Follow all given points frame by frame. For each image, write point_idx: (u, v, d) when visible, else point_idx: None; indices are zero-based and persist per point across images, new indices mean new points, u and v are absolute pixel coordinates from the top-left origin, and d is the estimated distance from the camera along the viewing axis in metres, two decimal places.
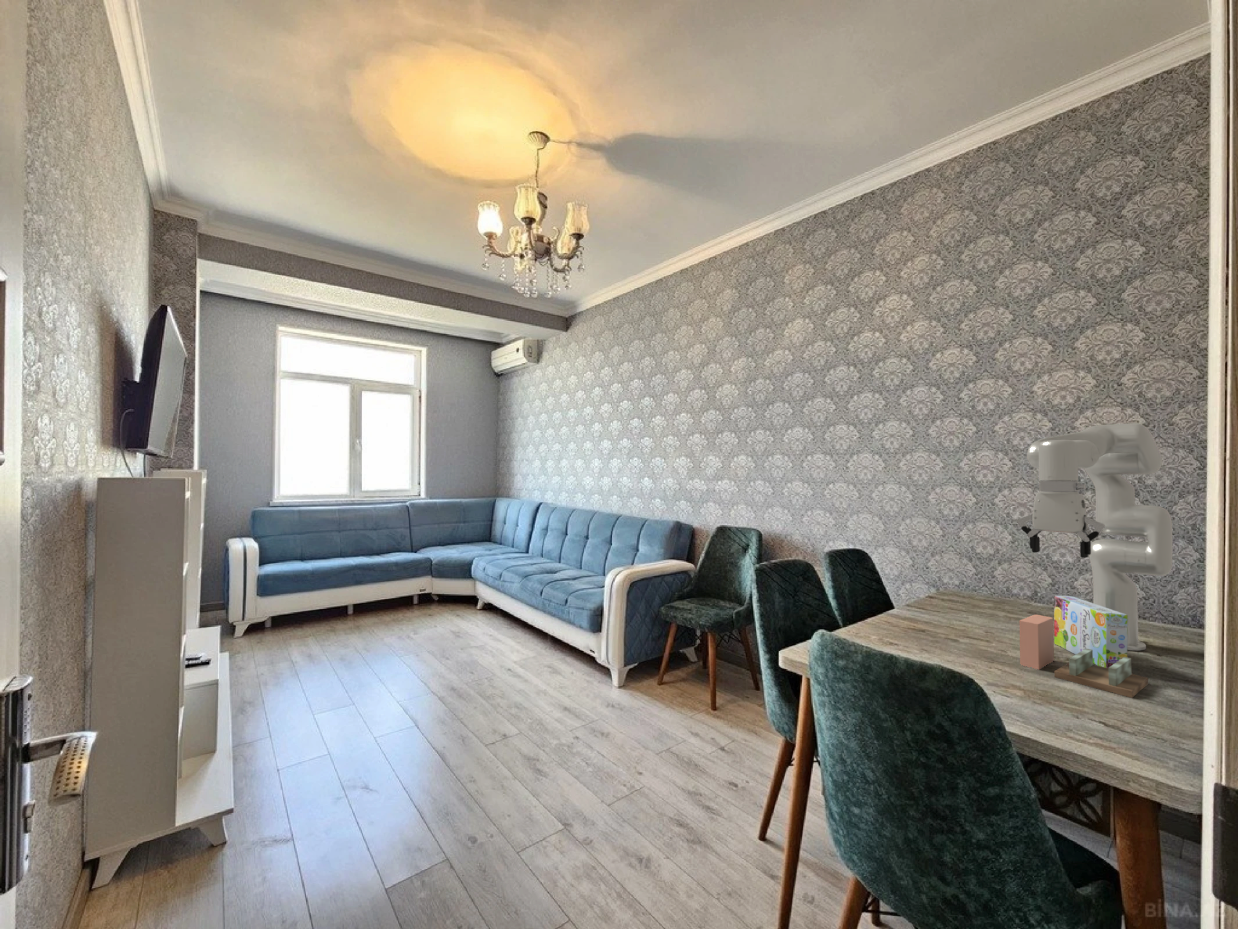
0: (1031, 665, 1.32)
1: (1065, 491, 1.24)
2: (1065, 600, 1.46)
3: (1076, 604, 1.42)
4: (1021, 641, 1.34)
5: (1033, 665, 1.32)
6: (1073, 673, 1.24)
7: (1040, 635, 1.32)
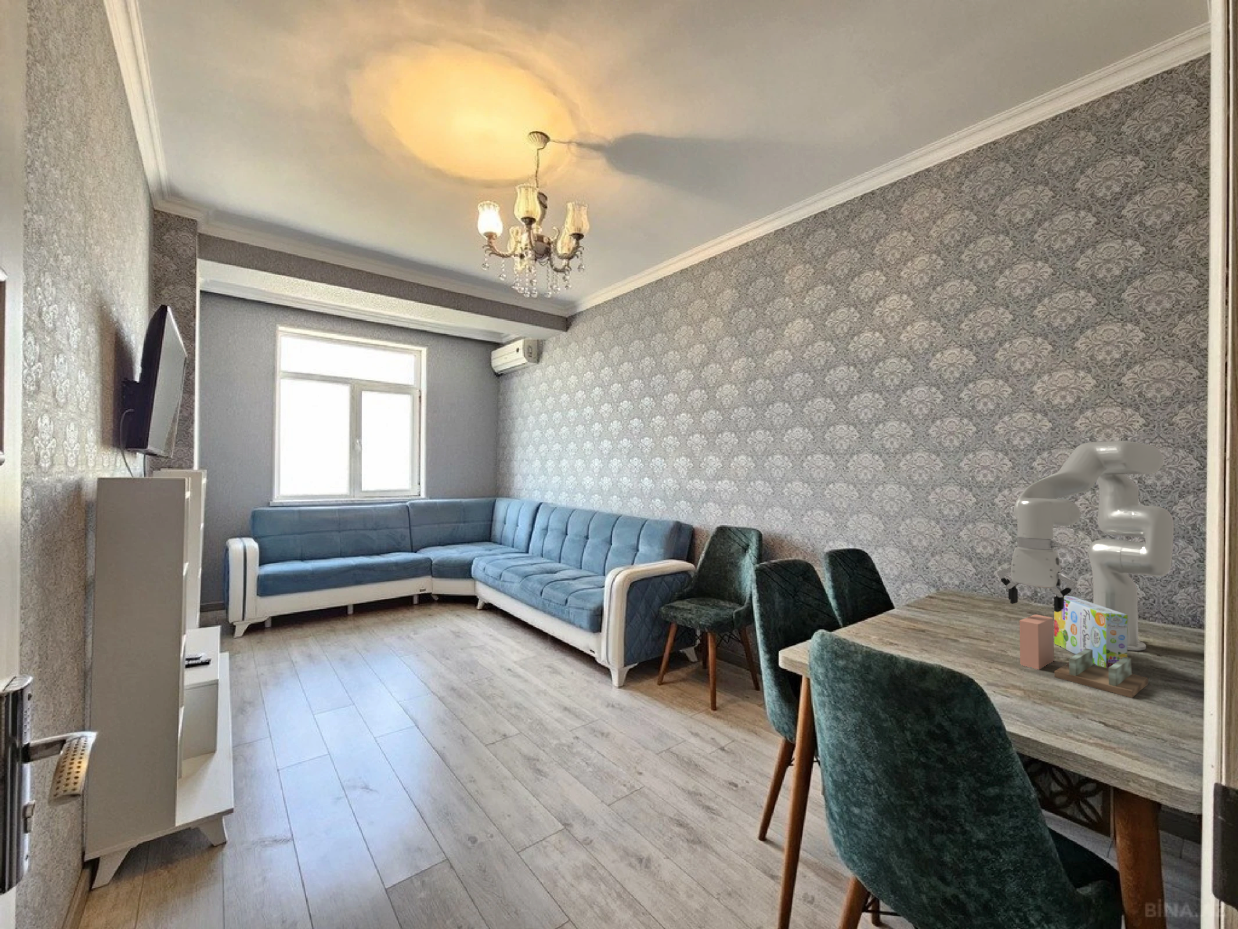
0: (1031, 665, 1.32)
1: (1041, 549, 1.33)
2: (1065, 600, 1.46)
3: (1076, 604, 1.42)
4: (1021, 641, 1.34)
5: (1033, 665, 1.32)
6: (1073, 673, 1.24)
7: (1040, 635, 1.32)
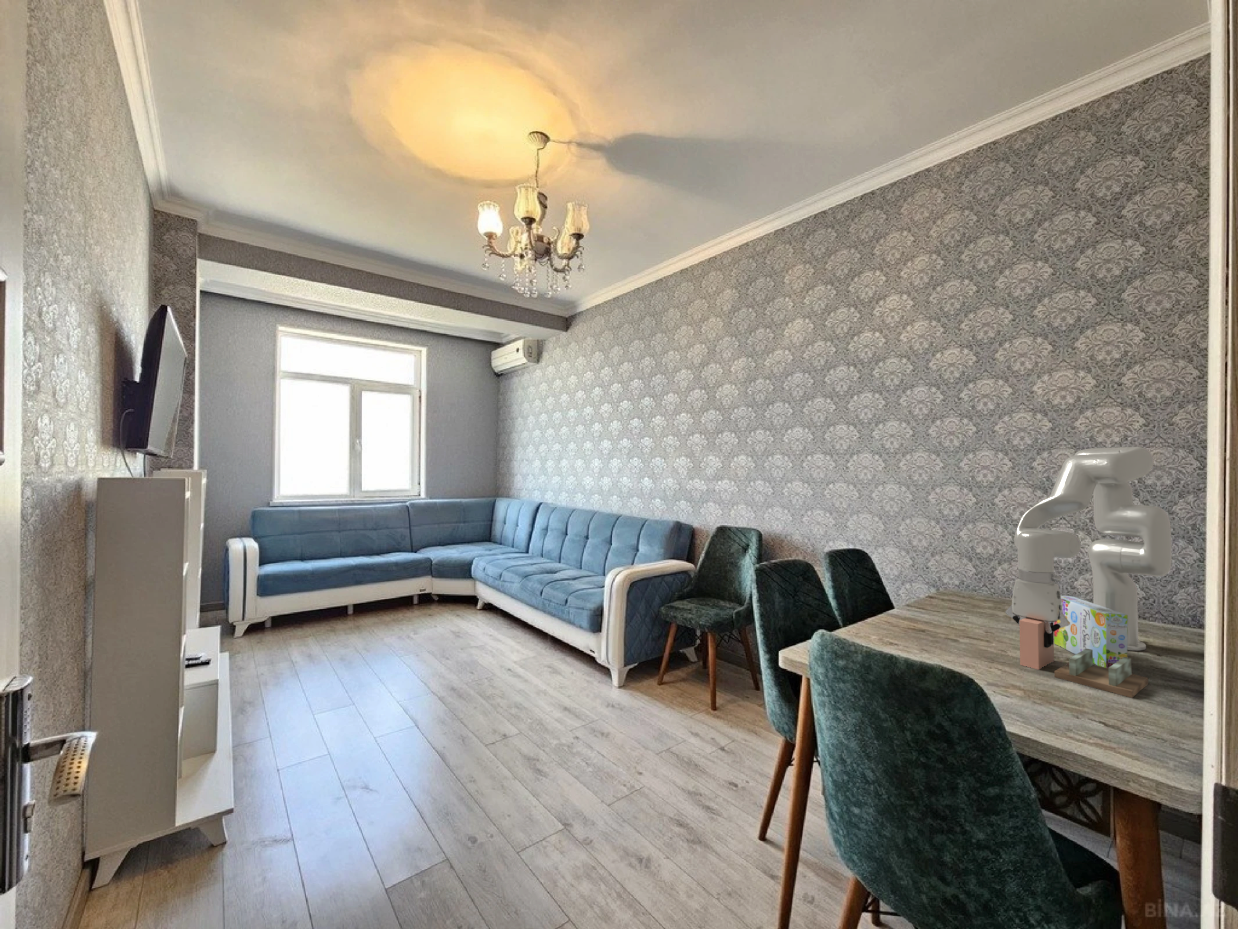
0: (1031, 665, 1.32)
1: (1041, 582, 1.33)
2: (1065, 600, 1.46)
3: (1076, 604, 1.42)
4: (1021, 641, 1.34)
5: (1033, 665, 1.32)
6: (1073, 673, 1.24)
7: (1040, 635, 1.32)
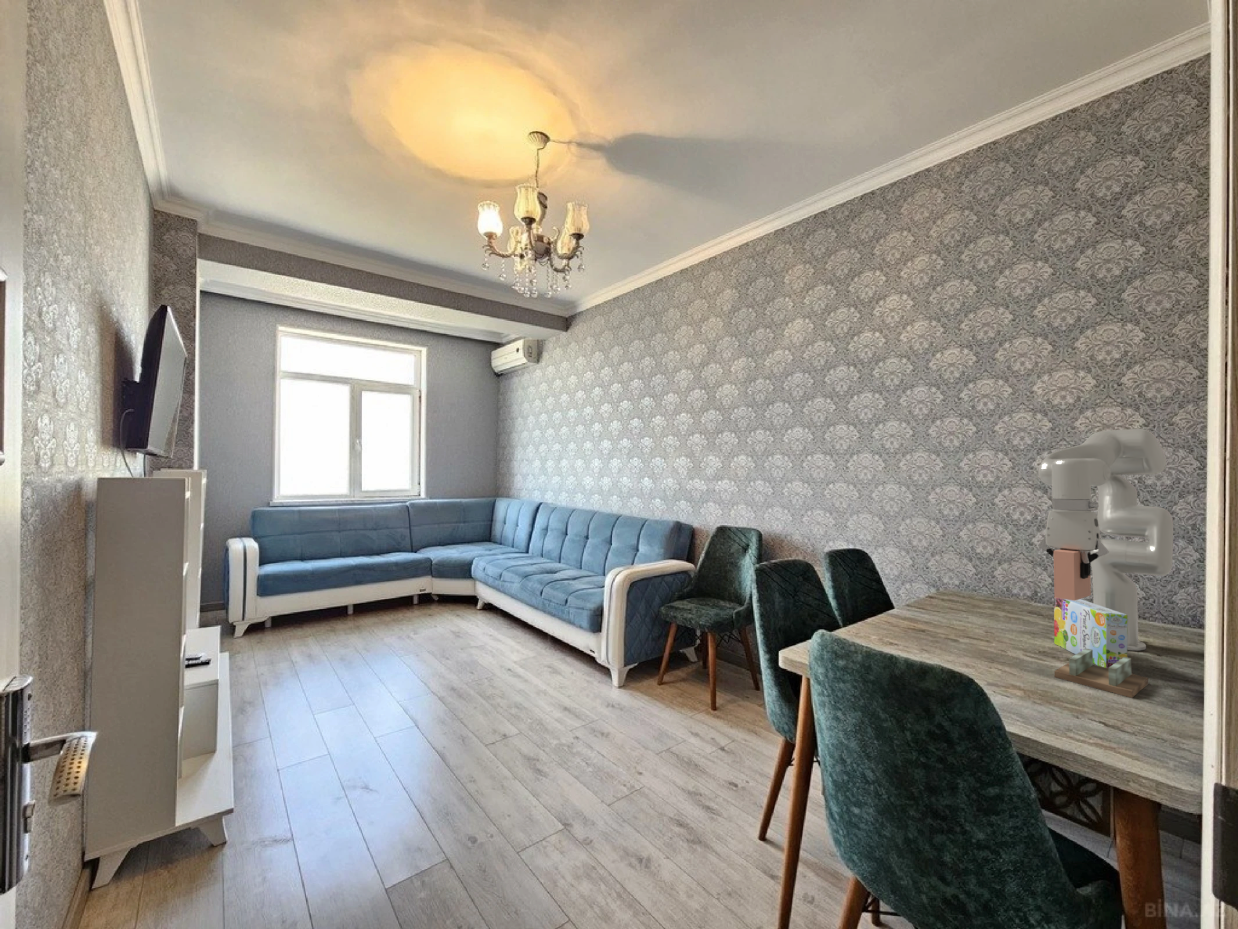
0: (1066, 596, 1.26)
1: (1078, 510, 1.26)
2: (1065, 600, 1.46)
3: (1076, 604, 1.42)
4: (1055, 572, 1.28)
5: (1068, 596, 1.25)
6: (1073, 673, 1.24)
7: (1076, 565, 1.26)
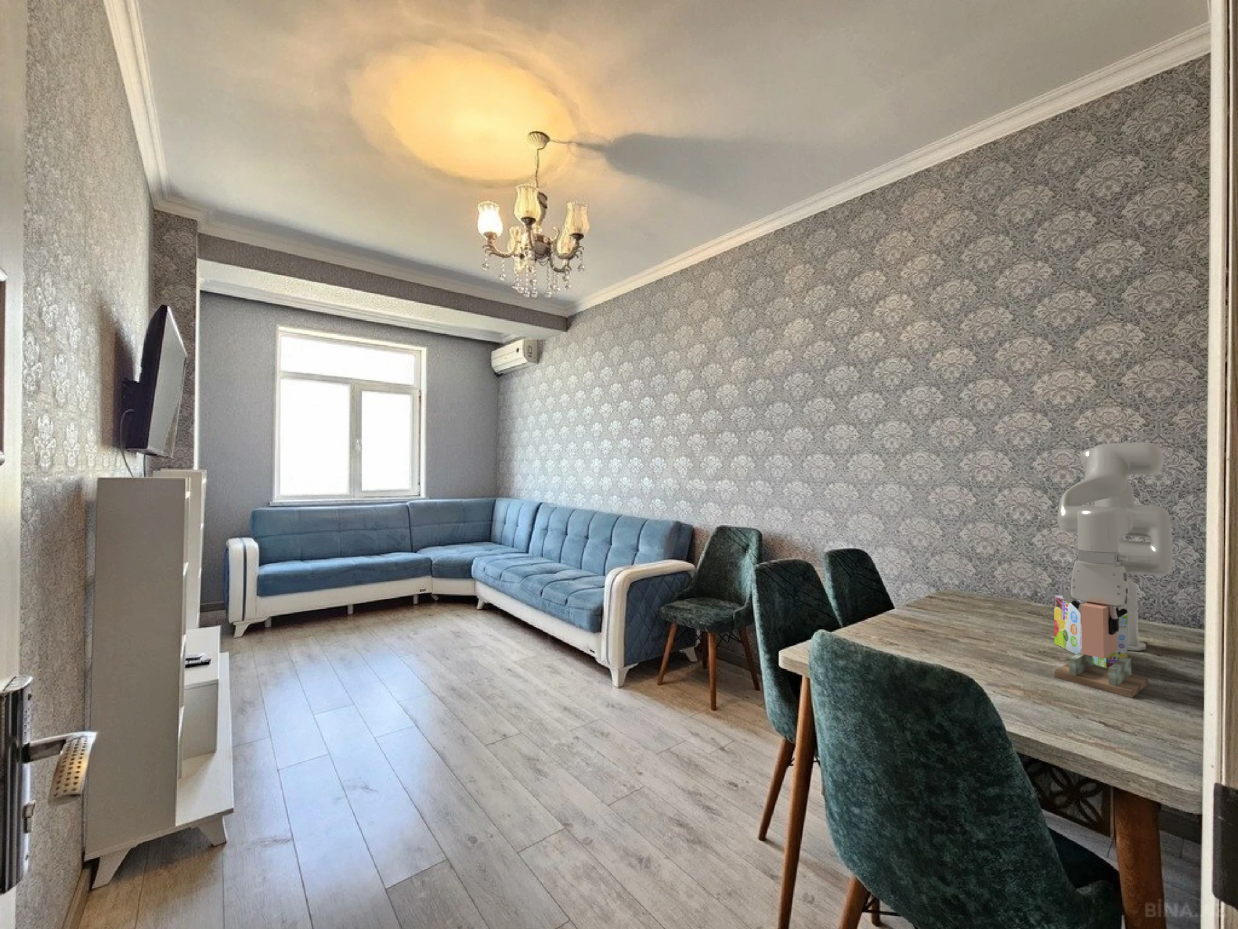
0: (1095, 654, 1.21)
1: (1106, 563, 1.21)
2: (1065, 600, 1.46)
3: None
4: (1083, 627, 1.23)
5: (1097, 653, 1.21)
6: (1073, 673, 1.24)
7: (1105, 621, 1.21)
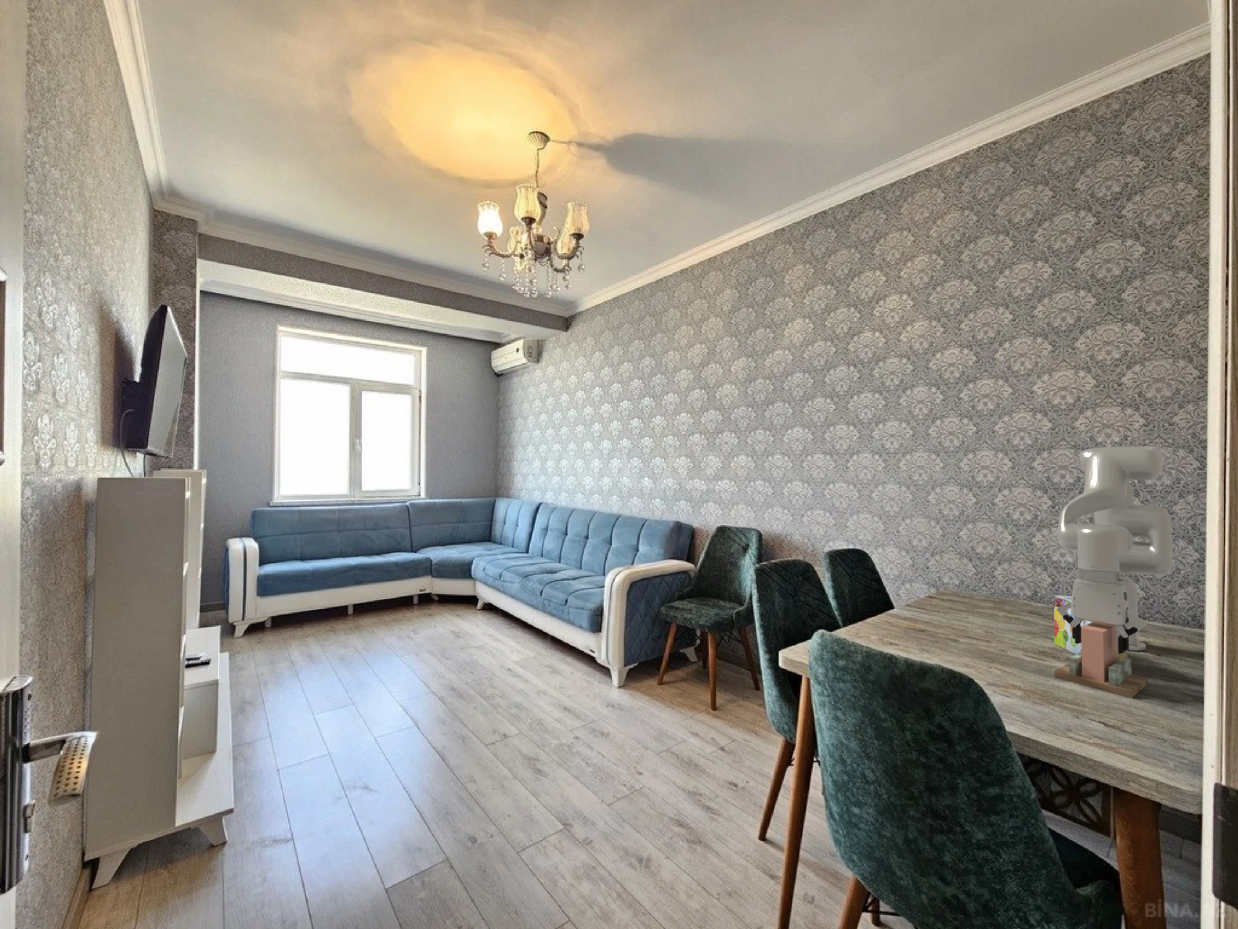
0: (1095, 677, 1.21)
1: (1107, 582, 1.21)
2: (1065, 600, 1.46)
3: None
4: (1083, 650, 1.23)
5: (1097, 677, 1.21)
6: (1073, 673, 1.24)
7: (1105, 644, 1.21)
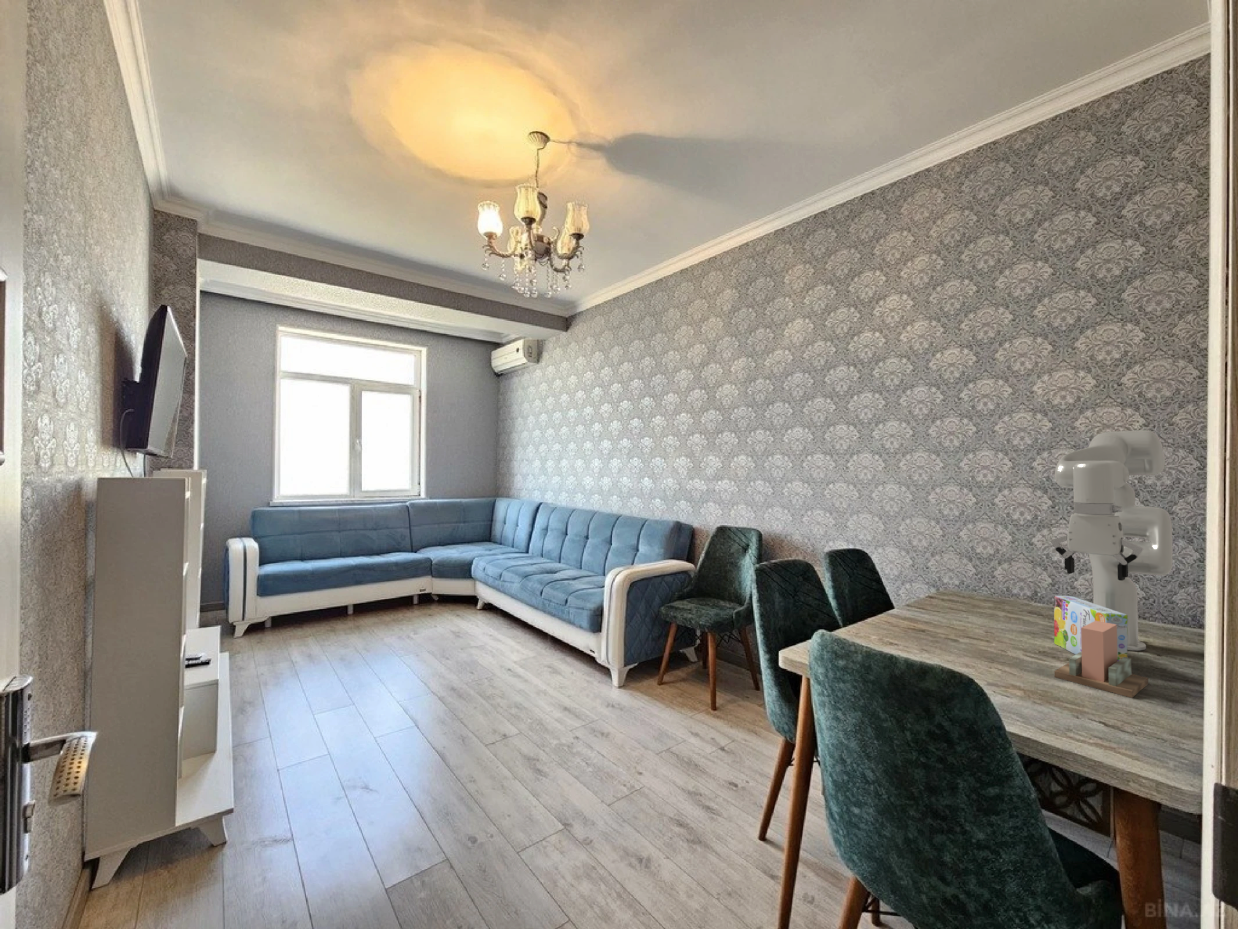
0: (1095, 677, 1.21)
1: (1102, 514, 1.24)
2: (1065, 600, 1.46)
3: (1076, 604, 1.42)
4: (1083, 650, 1.23)
5: (1097, 677, 1.21)
6: (1073, 673, 1.24)
7: (1105, 644, 1.21)
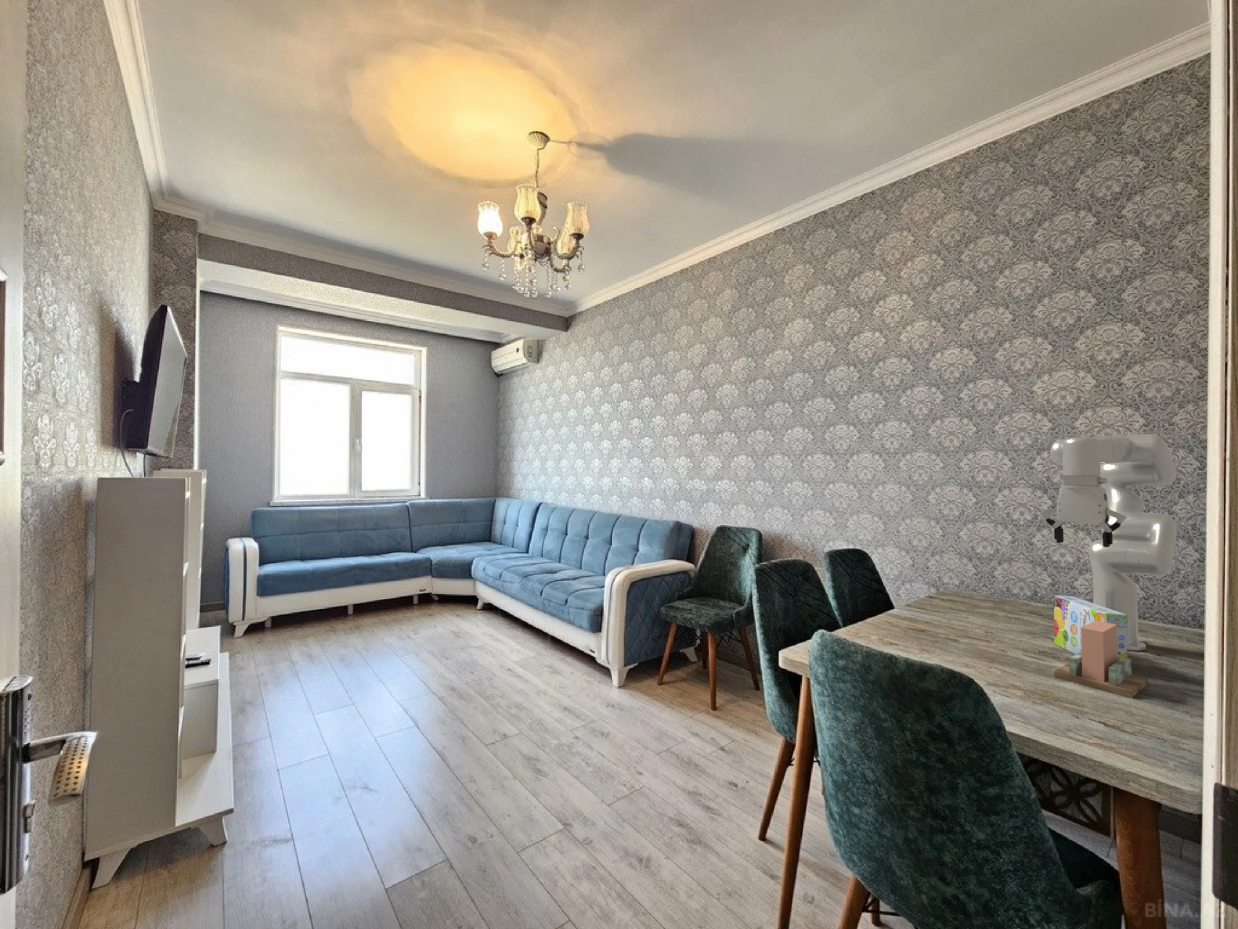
0: (1095, 677, 1.21)
1: (1088, 485, 1.33)
2: (1065, 600, 1.46)
3: (1076, 604, 1.42)
4: (1083, 650, 1.23)
5: (1097, 677, 1.21)
6: (1073, 673, 1.24)
7: (1105, 644, 1.21)
